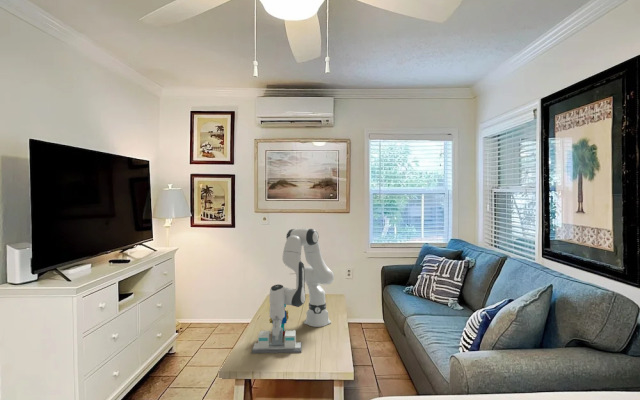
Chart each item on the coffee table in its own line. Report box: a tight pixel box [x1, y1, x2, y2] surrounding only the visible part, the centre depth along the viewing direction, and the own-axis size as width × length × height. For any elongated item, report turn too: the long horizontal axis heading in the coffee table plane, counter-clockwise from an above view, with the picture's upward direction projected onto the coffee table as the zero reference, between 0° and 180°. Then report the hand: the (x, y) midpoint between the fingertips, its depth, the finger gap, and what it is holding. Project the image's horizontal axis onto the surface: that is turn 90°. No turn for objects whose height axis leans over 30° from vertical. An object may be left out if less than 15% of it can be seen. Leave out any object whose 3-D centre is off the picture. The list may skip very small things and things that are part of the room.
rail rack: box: [251, 329, 303, 354], centre depth 208 cm, size 11×28×9 cm, turn 91°
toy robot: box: [269, 304, 289, 337], centre depth 227 cm, size 12×6×25 cm, turn 111°
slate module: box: [271, 328, 284, 344], centre depth 208 cm, size 4×6×8 cm
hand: (277, 337), depth 208 cm, fingers closed on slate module, 4 cm apart
